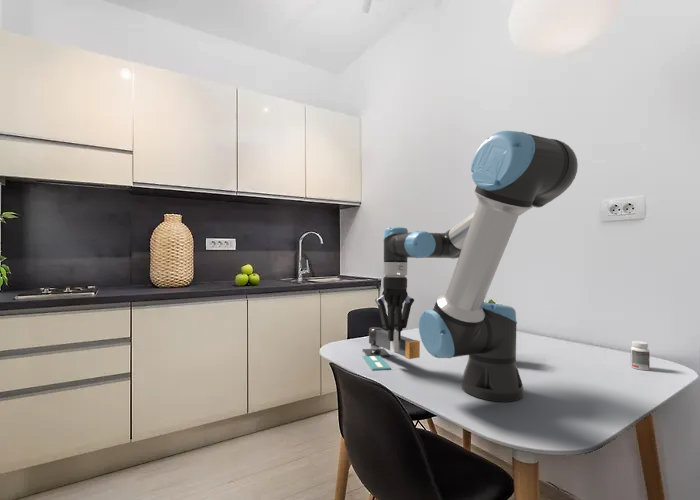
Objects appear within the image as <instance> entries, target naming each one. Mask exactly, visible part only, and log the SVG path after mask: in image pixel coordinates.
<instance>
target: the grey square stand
mask: <svg viewBox="0 0 700 500" xmlns="http://www.w3.org/2000/svg"><path fill="white" fill-rule="evenodd" d="M362 352H364V353H365V354H364V353H363V354H364V356H381V357H382V358H388V357H389V358H391V355H390V353H389V352H388V351H387V349H385V348H383V347H380V346H378V345H375V344H370V348H362Z"/></svg>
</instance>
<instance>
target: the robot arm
mask: <svg viewBox="0 0 700 500" xmlns="http://www.w3.org/2000/svg"><path fill="white" fill-rule="evenodd" d="M578 167H579V165H578V159H577V155H576V153H575V151H574V150H573V148H572V147H570V146H569V145H568V144H567V143H565V142H563V141H561V140H559V139H554V138H547V137H544V136H539V135H535V134H530V133H527V132H524V131H516V130H501V131H498V132H495V133H492V135H490V137H488V138H486V139H485V140H484V141H483V142H482V143H481V144H480V145H479V146H478V148H477V150H476V152H475V153H474V156H473V158H472V162H471V167H470V171H471V173H472V174H471V177H472V181H473V182H474V184H475V185H476V187H475V188H474V194H475V195H476V198H477V199H478V202H477V206H476V209H474V211H473V212H471V213H470V214H469V215H468V216H466V217H465V218H464V219H462V220H461V221H459V222H458V223H457V224H456V225H454V226H453V227H451V228H450V229H448V230H446V232H441V233H440V232H428V231H425V230H424V231H422V230H421V231H419V230H416V231H415V230H414V231H412V232H409V231H408V228H407V227H404V226H403V227H401V226H395V227H394V226H393V227H386V228H385V229H384V236H383V276H384V277H383V280H382V284H383V286H382V287H383V288H382V289H383V291H382V294H381V296H380V297H377V298H375V299H374V300H375V303H376V304H377V306H378V311H379V317H380V320H381V321H380V322H381V325H382V328H383V329H384V330H386V331H388V340H389V341H390V350H389V352H390V351H391V352H392V353H395V352H398V341H400V339H401V336H402V335H401V332H403V329H404V330H405V329H407V326H408V323H409V319H410V318H409V317H410V313H411V309H412V305H413V303H414V302H415V299H414V298H413V297H411V296H409V295H408V294H409V293H408V289H407V288H408V278H407V277H406V276H407V275H408V258H409V259H410V258H411V259H412V258H415V259H424V258H425V259H427V258H429V259H435V258H436V259H453V260H454V259H457V261H456V264H455V267H454V270H453V272H452V276H451V278H450V281H449V283H448V287H447V290H446V292H445V293H442V294H440V295H438V297H437V299H436V301H435V303H434V307H433V308H432V309H427V310H425V311H423V312H422V313H421V315H420V317H419V320H418V332H419V336H420V341H421V342H422V344H423V346H424V348H425V351H427V352H428V353H429V354H430V355H431V356H432V357H434V358H437V359H452V358H457V357H463V356H468V360H467V363H466V365H465V368H464V371H463V374H462V375H461V389H462V390H463V391H464V392H465V393H467V394H468V395H471V396H472V397H476V398H479V399H482V400H486V401H494V402H502V403H503V402H507V403H508V402H514V401H518V400H520V399H522V398H523V397H524V384H523V382H522V378H521V376H520V373H519V370H518V367H517V323H518V322H517V311H516V309H515V308H514V307H512V306H509V305H504V304H498V303H493V302H492V303H491V302H485V299H486V297H487V294H488V292H489V288H491V287H490V286H491V284H492V282H493V279H494V277H495V275H496V272H497V270H498V268H499V265H500V262H501V260H502V257H503V255H504V253H505V250H506V247H507V245H508V242H509V240H510V237H511V236H512V234H513V231H514V228H515V226H516V223H517V221H518V218H519V216H521V215H523V214H524V213H526V212H528V211H529V210H531V209H532V208H539V209H540V208H542V207H544V206H545V205H547V204H549V203H550V202H552V201H553V200H555V199H557V198H558V197H560V196H561V195H562V194H564V193H565V191H567V190H568V188H570V186H571V185H572V184H573V182H574V181H575V179H576V176H577V174H578ZM385 303H386V305H385ZM386 307H387V309H386Z"/></svg>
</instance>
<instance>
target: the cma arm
mask: <svg viewBox="0 0 700 500" xmlns="http://www.w3.org/2000/svg"><path fill="white" fill-rule="evenodd" d="M420 342H421V340H418V339H413V338H410V337H406V336H403V335H401V339H400V341H398V352H394V353H395V354H397V355H400V356H403V357H404V358H406V359H408V360H413V359H419V358H420V355H421V351H420V350H421V349H420V347H421V345H420ZM368 343H369V344H370V345H371V344H375V345H378V346H380V347H381V348H382V349H383V348H384V349H385V350H388V351H390V341H389V340H388V330H387V329H384V328H383V327H375V326H374V327H373V326H372V327H369V328H368Z"/></svg>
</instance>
